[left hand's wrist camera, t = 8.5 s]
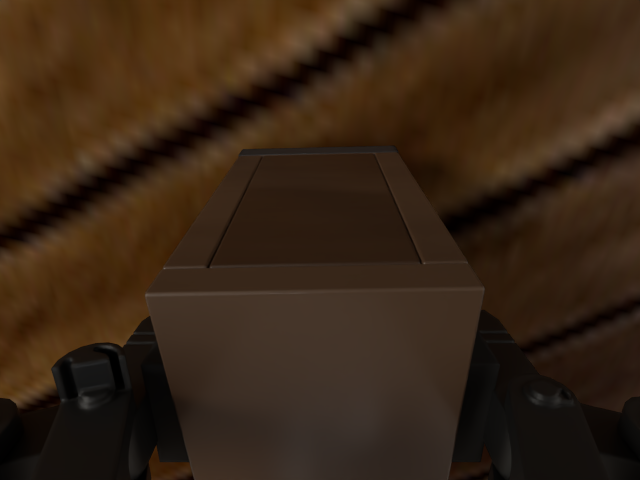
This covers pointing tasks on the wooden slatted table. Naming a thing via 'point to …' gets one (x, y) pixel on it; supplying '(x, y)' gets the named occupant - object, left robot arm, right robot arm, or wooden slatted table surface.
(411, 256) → the cabinet
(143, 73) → the wooden slatted table surface
